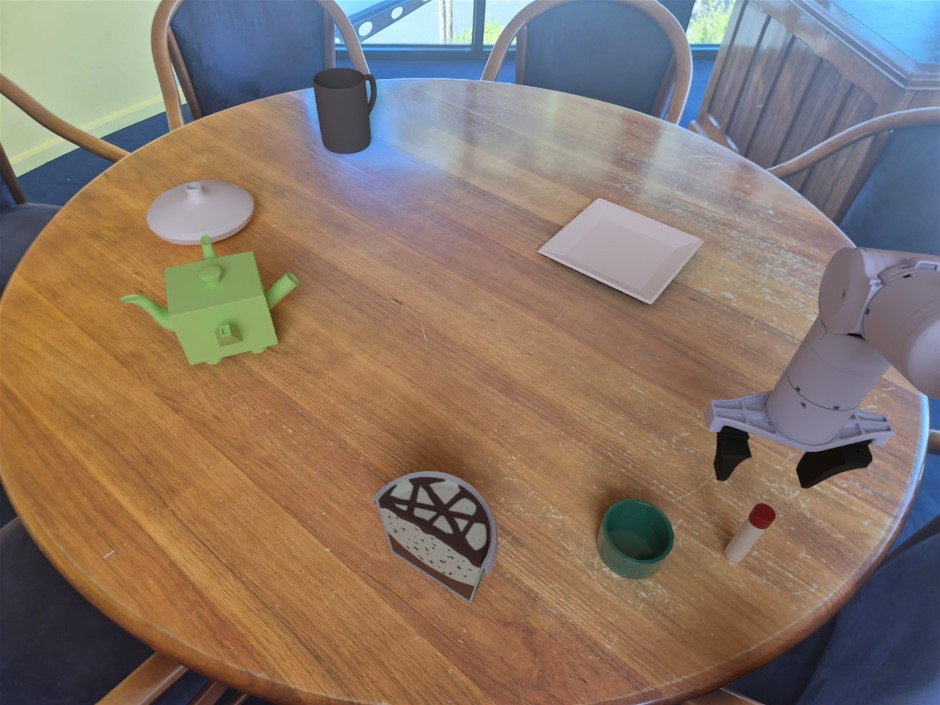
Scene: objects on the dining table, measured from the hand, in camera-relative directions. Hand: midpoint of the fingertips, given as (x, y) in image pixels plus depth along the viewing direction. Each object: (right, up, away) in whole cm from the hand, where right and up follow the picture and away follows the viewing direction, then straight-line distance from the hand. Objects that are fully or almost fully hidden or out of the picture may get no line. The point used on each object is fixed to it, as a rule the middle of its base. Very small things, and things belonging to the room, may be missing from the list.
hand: (760, 475), depth 58 cm
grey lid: (-69, +31, +39) cm, 85 cm away
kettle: (-59, +14, +23) cm, 64 cm away
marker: (-1, -9, +4) cm, 10 cm away
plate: (-4, +26, +37) cm, 45 cm away
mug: (-49, +52, +60) cm, 93 cm away
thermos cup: (-11, -8, +4) cm, 14 cm away
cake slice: (-29, -8, +4) cm, 31 cm away
